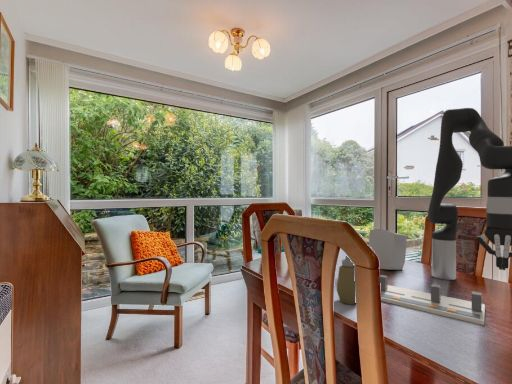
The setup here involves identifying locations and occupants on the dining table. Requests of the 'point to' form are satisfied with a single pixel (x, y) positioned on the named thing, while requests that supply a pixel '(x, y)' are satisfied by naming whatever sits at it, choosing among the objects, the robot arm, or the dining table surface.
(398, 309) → the dining table surface
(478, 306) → the slider
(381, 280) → the slider
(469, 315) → the switch panel
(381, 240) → the electrical switch box
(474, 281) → the dining table surface
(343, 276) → the squeeze bottle
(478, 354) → the dining table surface
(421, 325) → the dining table surface
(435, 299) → the slider middle
